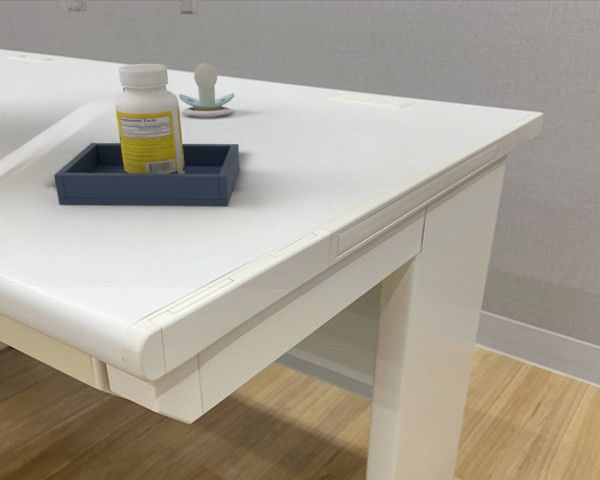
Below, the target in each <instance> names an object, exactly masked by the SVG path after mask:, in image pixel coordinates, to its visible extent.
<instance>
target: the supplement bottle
mask: <svg viewBox="0 0 600 480" xmlns="http://www.w3.org/2000/svg"><path fill="white" fill-rule="evenodd" d="M118 74H119V83H120V86H121V87H122V88H124V92H122V93H120V94H119V95H118V96H117V97H116V99H115V102H114V105H115V114H116V120H117V128H118V135H119V143H121V150H122V157H123V164H124V171H125V173H146V174H185V165H184V155H183V144H184V143H183V134H182V125H181V115H180V114H181V113H180V105H179V100H178V97H177V95H176V94H175V93H173V92H172V91H170V90H167V85H168V84H169V77H168V76H169V75H168V68H167V66H166V65H164V64H159V63H135V64H134V63H133V64H127V65H122V66H120V67H118Z"/></svg>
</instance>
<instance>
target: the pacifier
mask: <svg viewBox="0 0 600 480" xmlns="http://www.w3.org/2000/svg"><path fill="white" fill-rule="evenodd" d="M193 77H194V78H193V79H194V83H195V84H196V86H197V87H198V99H197V98H194V97H191V96H188V95H185V94H180V93H179V94H178V97H179V99H180V100H181V101H182V102H183V103H185V104H186V105H189V106H191V107H187V108H185V109H183V110H182V112H183V114H185V115H187V116H191V117H219V116H225V115H226V116H227V115H229V114H231V113H232V112H233V110H232V109H231V108H229V107H226V106H224V105H226V104H228V103H230V101H232V100H233V99H234V98H235V93H230V94H226V95H224V96H222V97H219V98H216V91H215V85H216V84H217V82H218V73H217V71H216V69H215V67H214V66H213V65H212V64H210V63H206V62H203V63H200V64H198V65H197V67H196V68H195V70H194V74H193Z"/></svg>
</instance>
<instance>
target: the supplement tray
mask: <svg viewBox="0 0 600 480" xmlns="http://www.w3.org/2000/svg"><path fill="white" fill-rule="evenodd" d="M182 144H183V155H184V165H185V174H146V173H125V171H124V164H123V157H122V150H121V143H120V142H90V143H89V144H88V145H87V146H86V147H85V148H83V150H81V151H80V152H79V153H78V154H76V156H74V157H73V158H72V159H71V160H70V161H68V163H66V164H65V165H64V166H63V167H61V169H59V170H58V171H57V172H56V173H55V174H54V175H53V178H54V182H55V188H56V194H57V198H58V199H57V200H58V205H69V206H70V205H71V206H72V205H75V206H76V205H78V206H79V205H81V206H82V205H83V206H84V205H85V206H86V205H87V206H172V207H173V206H175V207H176V206H182V207H183V206H185V207H187V206H188V207H228V206H229V203H230V202H231V201H230V200H231V197H232V195H233V191H234V188H235V185H236V181H237V179H238V176H239V173H240V149H239V148H240V147H239V143H182Z"/></svg>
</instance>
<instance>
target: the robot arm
mask: <svg viewBox="0 0 600 480" xmlns="http://www.w3.org/2000/svg"><path fill="white" fill-rule="evenodd" d="M179 1H180V2H181V3H180V5H179V11H180V13H179V14H180V15H189V16H190V15H192V16H193V15H194V16H195V15H196V16H200V15H201V14H202V0H179ZM60 4H61V5H60V6H61V9H62V11H63V12H85V11H87V1H86V0H60Z"/></svg>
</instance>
